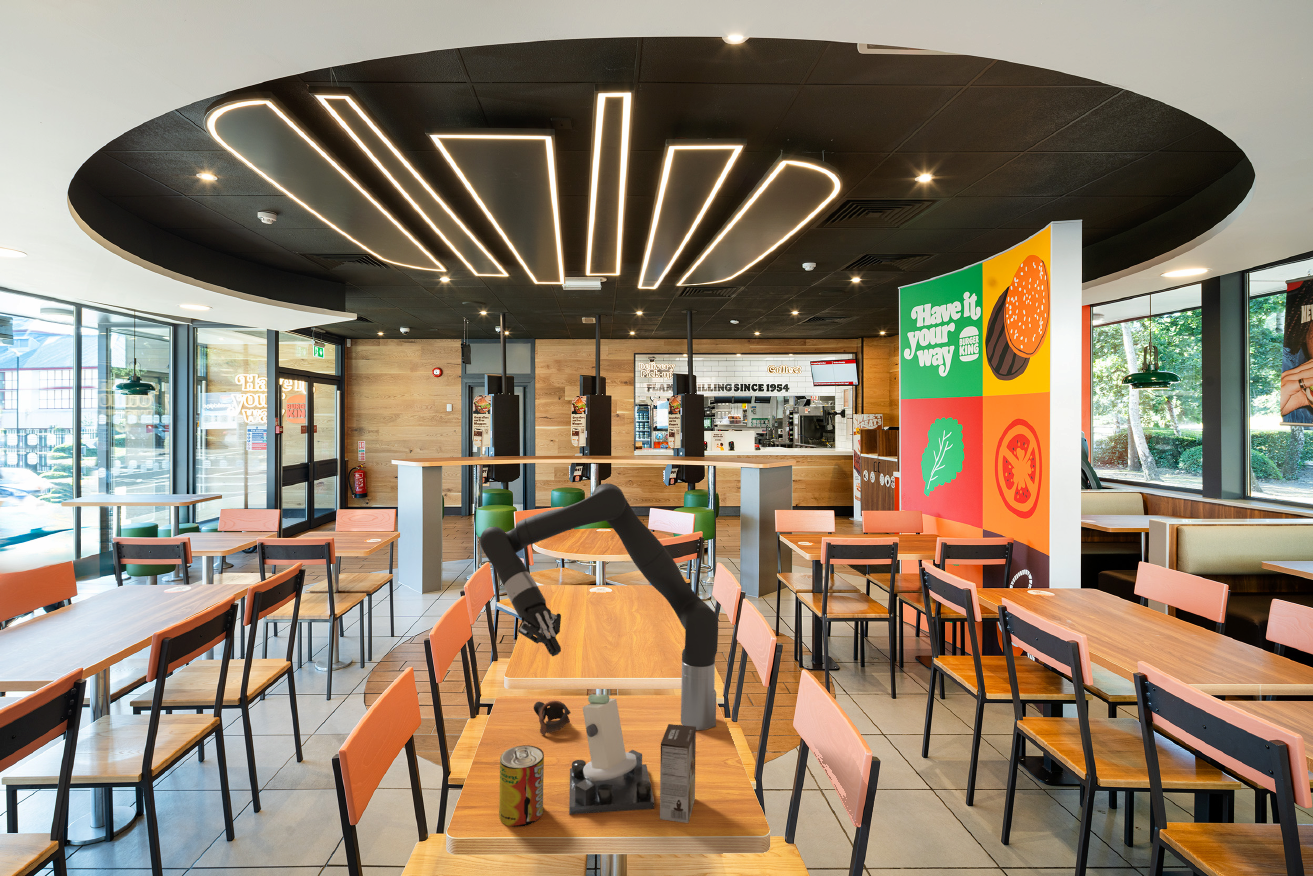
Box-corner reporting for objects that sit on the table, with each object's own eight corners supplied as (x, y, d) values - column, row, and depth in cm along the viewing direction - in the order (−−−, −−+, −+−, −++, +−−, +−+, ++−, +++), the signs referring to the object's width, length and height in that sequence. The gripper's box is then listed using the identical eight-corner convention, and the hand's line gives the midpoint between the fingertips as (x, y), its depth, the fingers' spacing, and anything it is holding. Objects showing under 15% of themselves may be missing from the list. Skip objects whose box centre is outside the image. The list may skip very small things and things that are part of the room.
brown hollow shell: (578, 724, 168) (577, 705, 164) (557, 752, 161) (556, 733, 156) (543, 705, 173) (541, 686, 168) (522, 731, 165) (519, 712, 161)
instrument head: (610, 759, 144) (597, 685, 146) (648, 762, 137) (634, 685, 139) (572, 782, 134) (560, 702, 137) (612, 787, 127) (598, 703, 130)
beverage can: (502, 831, 121) (503, 771, 121) (495, 806, 129) (496, 750, 129) (547, 820, 125) (548, 762, 125) (537, 796, 133) (538, 742, 133)
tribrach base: (646, 769, 144) (646, 749, 144) (654, 809, 129) (654, 786, 129) (569, 774, 142) (570, 752, 142) (569, 815, 127) (569, 791, 127)
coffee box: (666, 794, 135) (668, 722, 135) (695, 798, 133) (696, 725, 133) (658, 820, 126) (660, 742, 126) (689, 824, 124) (690, 746, 124)
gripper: (510, 590, 147) (544, 652, 139) (551, 581, 157) (584, 638, 150) (496, 608, 150) (528, 670, 143) (537, 598, 161) (568, 654, 153)
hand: (557, 653), depth 146 cm, fingers closed
